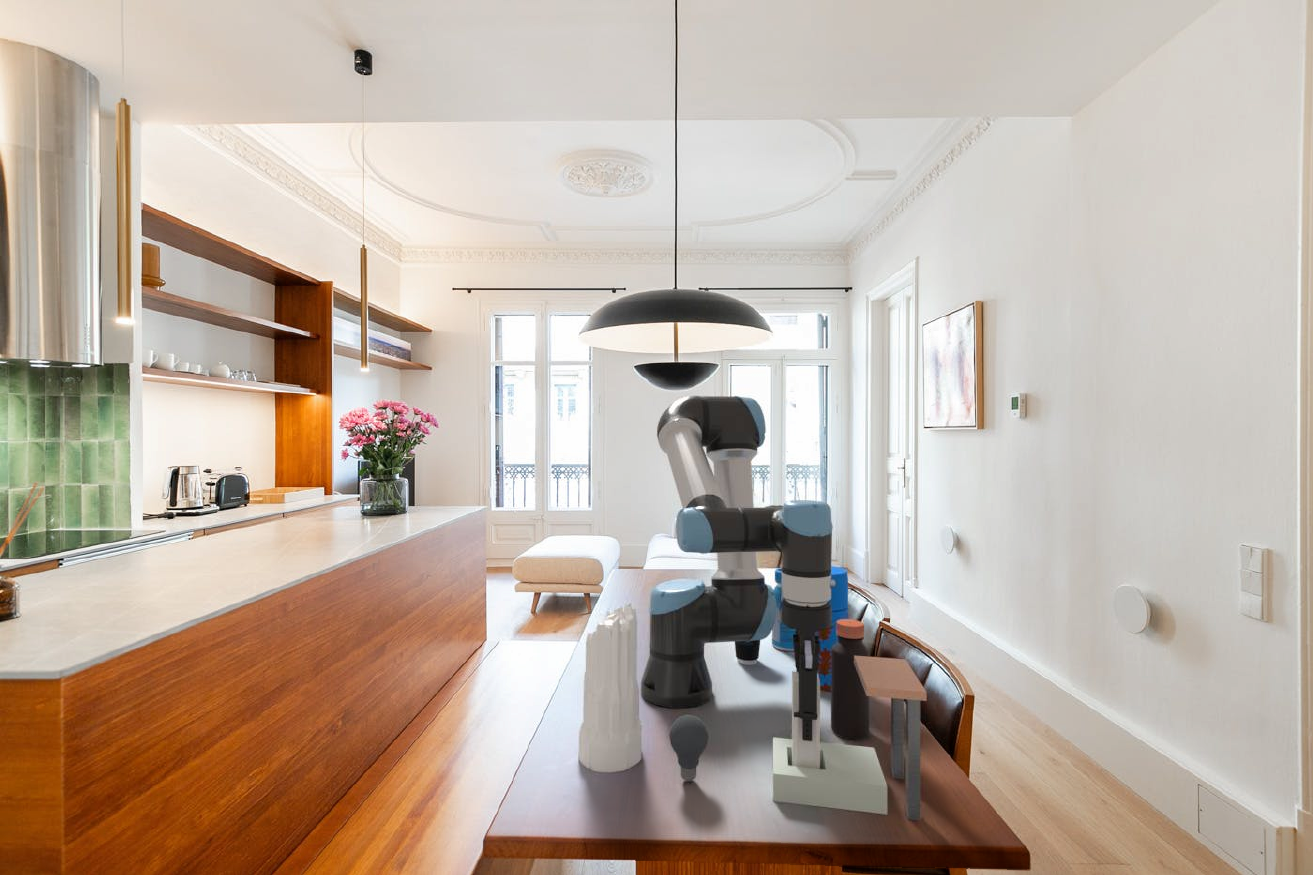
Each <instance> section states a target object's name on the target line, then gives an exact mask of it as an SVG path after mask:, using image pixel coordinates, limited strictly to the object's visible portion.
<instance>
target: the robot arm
mask: <svg viewBox="0 0 1313 875" xmlns="http://www.w3.org/2000/svg"><path fill="white" fill-rule="evenodd" d="M656 427H657V428H656V429H657V430H656V437H657V441H658V445H659V447H660V449H661V451H662V452H663V453H665V454H666V456H667V459H668V462H669V466H670V469H671V473H672V476H673V479H674V483H675V486H676V489H677V493H678V497H679V500H680V503H681V508H682V509H680V510H679V511H678V512H677V514H676V524H675V525H676V526H675V535H676V543H677V545H678V547H679V549H680V550H681V551H682V552H685V553H693V554H695V553H696V554H703V555H705V554H716V556H717V557H716V558H717V569H716V571H715V572H714V573H713V574H712V576H711V579H710V580H711V582H710V583H711V585H710V586H707V585H706V584H705V582H704V581H703V580H701V579H698V578H686V577H685V578H676V579H672V580H671V579H670V580H666V581H664V582H661V583H659V584H657V585H656V586H654V587H653V589H652V590H651V592H650V596H649V597H650V598H649V607H648V612H649V656H648V660H647V662H646V664H645V669H644V672H643V675H642V678H641V683H640V694H641V697H642V698H643V699H644V700H646V701H647V702H649V703H651V704H652V705H656V706H658V707H659V706H660V707H665V708H670V709H671V708H674V709H684V708H685V709H686V708H692V707H693V708H694V707H698V706H701V705H702V704H705V703H707V702H708V701H709V700H710V699H712V696H713V682H712V678H711V675H710V671H709V668H708V665H707V662H706V659H705V644H712V643H713V644H714V643H729V642H730V643H731V642H732V643H733V642H734V643H735V641H745V642H750V641H754V640H760V641H761V640H765V639H766V638H768V636H770V634H772V629H773V626H774V622H775V617H776V598H775V596H774V588H773V587H772V585H769V584H768V583H765V582H766V580H765V579H766V578H765V575H764V574H762V572H761V571H759V569H758V564H757V563H758V562H757V552H759V553H760V552H762V553H765V552H768V553H769V552H778V553H781V568H782V590H781V595H782V596H783V597H784V598H785V599H784V600H783V601H782V622H783V624H784V625H785V626H787V627H789V628H791V629H796V631H795V634H793V645H794V651H793V653H794V654H793V657H794V663H795V664H794V666H795V670H796V671H795V672H799V711H798V712H794V717H798V727H797V758H798V759H802V760H811V761H816V720H817V718H818V714H817V671H818V669H819V652H820V641H819V637H818V636H816V635H815V632H817V631H824V630H827V629H828V628H830V626H831V604H830V603H829V602H828V601H829V600H830V599H831V588H830V586H835V581H834V580H830V579H831V566H832V554H833V553H832V552H833V549H832V548H833V546H832V544H833V542H832V540H833V523H832V509H831V506H830V505H829V503H827V502H825V501H821V500H820V501H818V500H807V499H805V500H804V499H802V500H801V499H794V500H787V501H785V502H784V503H783V505H781V504H780V505H767V506H764V507H755V506H754V488H753V473H752V472H753V470H752V460H753V459H754V458H755V457H756V456H757V455H758V448H761V446H763V445H764V443H765V439H766V432H767V430H766V427H767V426H766V421H765V416H764V413H763V409H762V407H761V406H760V404H759V402H758V401H757V400H755V399H754V398H752V397H747V396H746V397H743V396H742V397H741V396H739V395H734V396H725V395H723V396H722V395H721V396H715V395H714V396H707V395H689V396H685V397H682V398H680V399H678V400H675V401H674V402H673V403H671V404H670V405H668V407H667V408H666V409H665V410H664V412H663V413H662V414H661V416H660V417H659V420H658V423H657V426H656ZM704 448H706V449H704ZM705 450H706V452H705ZM708 459H709V460H710V461H711V462H712V463H713V470H712V467H711V464H710V462H709V460H708Z"/></svg>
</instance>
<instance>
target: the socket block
mask: <svg viewBox="0 0 1313 875" xmlns="http://www.w3.org/2000/svg"><path fill="white" fill-rule="evenodd" d="M773 801H774V802H779V803H780V802H781V803H788V804H789V803H790V804H796V805H797V804H798V805H806V806H812V807H814V806H815V807H821V808H830V809H836V810H838V809H839V810H846V811H847V810H848V811H854V812H861V813H862V812H863V813H872V814H879V815H888V785H887V782H886V779H885V775H884V772H883V770H882V767H881V765H880V761H879V757H878V756H877V752H876V750H875V747H871V746H862V745H861V746H859V745H851V744H841V743H831V742H821V741H820V769H816V768H806V767H797V766H792V738H783V737H782V738H781V737H772V802H773Z"/></svg>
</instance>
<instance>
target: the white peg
mask: <svg viewBox="0 0 1313 875" xmlns="http://www.w3.org/2000/svg"><path fill="white" fill-rule="evenodd" d="M791 675H792V676H791V677H792V678H791V695H792V696H791V739H792V766H797V767H806V768H816V769H820V742H821V726H820V725H821V690H820V680H819V676H818V673H817V714H818V718H817V720H816V761H811V760H802V759H798V758H797V727H798V717H794V712H798V711H799V672H796V671H794V670H793V671H792V672H791Z"/></svg>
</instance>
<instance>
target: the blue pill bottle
mask: <svg viewBox="0 0 1313 875" xmlns="http://www.w3.org/2000/svg"><path fill="white" fill-rule="evenodd" d="M774 581H775V584H776V585H775V586H774V588H773V590H774V596H775V598H776V617H775V622H774V626H773V629H772V630H771V645H772V646H773V647H774V648H775V649H777V650H781V651H786V652H787V651H788V652H794V645H793V634H795V631H796V629H791V628H789V627H787V626H785V625H784V624H783V622H782V601H783V600H784V599H785V598H784V597H783V596H782V595H781V590H782V567H780V568H776V569H775V571H774Z"/></svg>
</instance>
